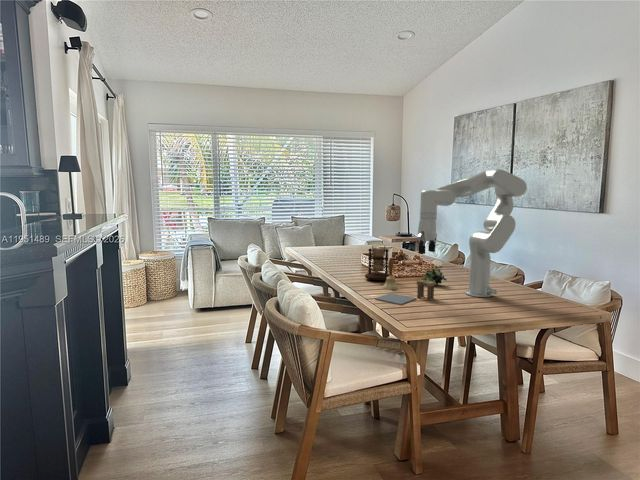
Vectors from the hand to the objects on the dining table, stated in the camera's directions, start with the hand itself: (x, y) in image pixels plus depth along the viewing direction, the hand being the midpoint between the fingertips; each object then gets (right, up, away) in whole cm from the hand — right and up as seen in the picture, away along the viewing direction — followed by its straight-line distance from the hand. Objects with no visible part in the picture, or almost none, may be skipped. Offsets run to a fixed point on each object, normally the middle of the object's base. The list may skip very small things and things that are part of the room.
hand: (426, 252), depth 198 cm
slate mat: (-15, -22, 0) cm, 27 cm away
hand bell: (-13, -20, +24) cm, 33 cm away
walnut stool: (0, -22, +3) cm, 22 cm away
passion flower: (+11, -19, +30) cm, 37 cm away
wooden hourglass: (-17, -17, +43) cm, 49 cm away
